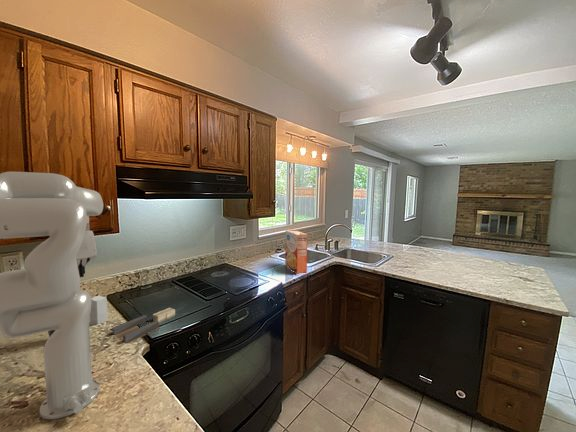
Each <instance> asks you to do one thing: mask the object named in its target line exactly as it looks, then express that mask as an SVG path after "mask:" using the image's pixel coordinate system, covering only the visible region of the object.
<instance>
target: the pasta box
mask: <svg viewBox="0 0 576 432" xmlns="http://www.w3.org/2000/svg"><path fill="white" fill-rule="evenodd" d="M284 257H285V258H284V260H285V261H284V262H285V264H284V266H285V265H286V266H287V267H288V268H290V269H291V270H292V271H294V272H295V273H296V274H299V273H307V272H308V270H307V268H308V233H305V232H302V231H299V230H297V229H290V230H288V229H287V230H285V255H284ZM288 268H287V269H288ZM292 271H291V272H292ZM296 274H295V275H296ZM307 274H308V273H307Z"/></svg>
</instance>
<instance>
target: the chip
mask: <svg viewBox="0 0 576 432" xmlns="http://www.w3.org/2000/svg"><path fill="white" fill-rule="evenodd" d="M166 320H168V319H167V313H166V312H163V310H160V311H158V312H156V313H153V314H152V322H154V321H158V322H159V324H160V323H162V322H164V321H166Z"/></svg>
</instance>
